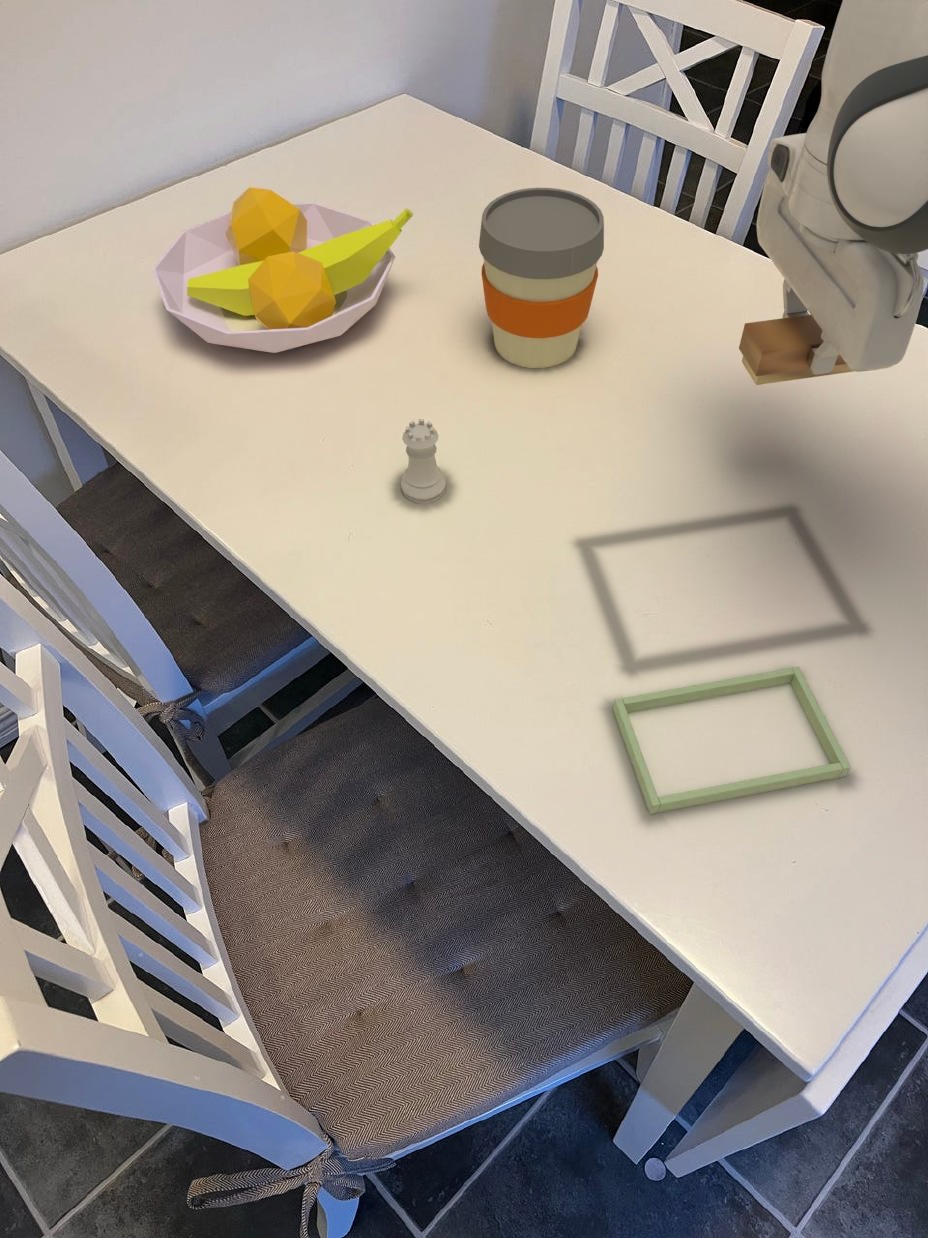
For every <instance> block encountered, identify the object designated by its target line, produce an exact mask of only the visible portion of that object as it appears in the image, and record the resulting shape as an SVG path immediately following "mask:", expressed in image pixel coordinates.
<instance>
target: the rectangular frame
mask: <svg viewBox="0 0 928 1238" xmlns="http://www.w3.org/2000/svg"><path fill="white" fill-rule="evenodd" d="M788 684H790V686H791V688H792V690H793V692H794V694H795V696H796V698H797V700H798V701H799V703H800V705H801V708H802V709H803V712H804V714H805V715H806V717H807V720H808V721H809V723H810V726H811V727H812V729H813V731H814V734H815V736H816V737H817V740H818V741H819V743H820V745H821V748H822V749H823V752H824V753H825V755H826V757H827V760H828V761H829V764H823V765H818V766H814V767H809V768H808V767H807V768H803V769H799V770H793V771H792V770H791V771H788V772H781V773H777V774H772V775H766V776H762V777H757V778H751V779H746V780H741V781H735V782H731V783H726V784H721V785H715V786H710V787H705V788H699V789H694V790H690V791H684V792H678V793H672V794H668V795H663V796H659V795H658V794H657V791H656V788H655V785H654V783H653V780H652V777H651V775H650V772H649V769H648V766H647V763H646V760H645V757H644V755H643V753H642V749H641V747H640V745H639V744H640V743H639V741H638V738H637V736H636V733H635V730H634V727H633V725H632V721H631V719H630V716H629V715H628V713H633V712H639V711H644V710H649V709H656V708H662V707H667V706H671V705H677V704H683V703H689V702H694V701H700V700H705V699H706V700H707V699H711V698H716V697H721V696H722V697H723V696H728V695H733V694H739V693H743V692H745V693H746V692H750V691H755V690H761V689H766V688H772V687H778V686H782V685H788ZM613 702H614V703H613V707H612V711H613V713H614V717H615V719H616V722H617V725H618V728H619V730H620V734H621V736H622V739H623V742H624V745H625V748H626V750H627V754H628V756H629V759H630V761H631V764H632V767H633V770H634V774H635V777H636V779H637V782H638V785H639V788H640V790H641V794H642V796H643V799H644V802H645V805H646V807H647V810H648V813H649V815H653V814H657V813H663V812H669V811H674V810H679V809H685V808H688V807H695V806H699V805H700V806H701V805H705V804H710V803H715V802H720V801H725V800H731V799H735V798H736V799H737V798H740V797H745V796H746V797H747V796H751V795H757V794H761V793H766V792H771V791H776V790H781V789H788V788H793V787H798V786H803V785H807V784H808V785H809V784H812V783H817V782H824V781H828V780H833V779H837V778H838V779H839V778H844V777H846V775H847V774H848V773H849V771H850V770H851V769H852V767H851V765H850V762H849V761H848V759H847V757H846V755H845V753H844V751H843V749H842V747H841V745H840V743H839V741H838V740H837V738H836V735H835V734H834V732H833V730H832V728H831V726H830V724H829V722H828V720H827V718H826V716H825V715H824V713H823V710H822V709H821V707H820V704H819V703H818V701H817V699H816V697H815V695H814V693H813V692H812V689H811V687H810V685H809V683H808V682H807V680H806V678H805V676H804V674H803V672H802V670H801V668H800V667H799V666H795V667H789V668H783V669H778V670H773V671H768V672H761V673H756V674H749V675H744V676H740V677H734V678H728V679H723V680H717V681H711V682H706V683H705V682H704V683H700V684H694V685H688V686H684V687H678V688H677V687H676V688H673V689H667V690H661V691H655V692H650V693H645V694H639V695H633V696H632V695H631V696H627V697H622V698H616V699H615V700H614V701H613Z"/></svg>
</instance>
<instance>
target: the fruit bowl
mask: <svg viewBox="0 0 928 1238" xmlns="http://www.w3.org/2000/svg"><path fill="white" fill-rule="evenodd" d="M413 216H414V213H413V212H412V211H411V210H410V209H409V208H406V207H405V208H404V209H403V211H402V212H400V214H399V215H398V216H396V218H395V219H394V220H392V219H389V220H385V221H382V222H379V223H376V224H374V223H373V221H372V220H369V219H367V218H363V217H360V216H357V215H354V214H351V213H347V212H345V211H342V210H338V209H335V208H334V207H333V208H332V207H330V206H326V205H323V204H321V203H317V202H302V203H301V202H300V203H291V202H290V201H288V200H286V199H285V198H284V197H283V196H281V195H279V194H278V193H277V192H275V191H273V190H272V189H268V188H258V187H250V186H249V187H248V188H247V189H246V190H245V191H243V193H242V194H240V195H239V196H238V198H236V199H235V200H234V201H233V203H232V207H231V210H230V212H226V213H224V214H222V215H220V216H217V217H215V218H212V219H209V220H207V221H204V222H202V223H198V224H196V225H194V226H191V227H189V228H187V229H184V230H182V232H181V233H180V234H179V236H178V237H177V238H176V239H175V241H174V242H173V243H172V244H171V246H170V247H169V248H168V249H167V251H166V252H165V253H164V254H163V255H162V257H161V258H160V259H159V261H158V262H157V263H156V264H155V265H154V267H153V268H152V269H151V270H152V271H151V272H152V273H153V277H154V279H155V282H156V284H157V288H158V290H159V293H160V297H161V298H162V300H163V304H164V307H165V310H166V311H167V312H169V313H170V314H171V315H172V316H173V317H175V318H176V319H177V320H178V321H180V322H181V323H183V324H184V325H185V326H186V327H187V328H189V329H190V330H191V331H192V332H194V333H195V334H196V335H197V336H198V337H200V338H202V339H203V340H204V341H205V342H206V343H208V344H213V345H221V346H226V347H227V346H228V347H232V348H240V349H246V350H251V351H252V350H253V351H259V352H266V353H272V354H276V353H277V354H278V353H280V352H284V351H288V350H293V349H295V348H299V347H303V346H306V345H310V344H315V343H318V342H321V341H325V340H329V339H333V338H337V337H339V336H340V337H341V336H342V335H343V334H344V333H345V332H347V331H348V330H349V329H350V328H351V327H352V326H354V324H356V323H357V322H358V321H359V320H360V319H361V318H362V317H364V316H365V315H366V314H368V312H369V311H371V310H372V309H373V308H374V307H375V306H376V305H377V303H378V301H379V298H380V296H381V293H382V290H383V288H384V286H385V285H386V282H387V278H388V276H389V274H390V272H391V269H392V267H393V264H394V261H395V259H396V255H395V254H394V252H393V251H392V250H391V247H392V245H393V244H394V243H395V241H396V240H397V239H398V237H399V236H400V235H401V234H402V233H401V232H402V231H403V230H402V228H403V227H404V226H405V225H406V224H407V223H408V221H410V219H412V217H413ZM345 291H346V297H345V299H344V301H343V302H342V305H341V306H340V308H339V309H338V311H337V313H335V314H334V310H335V307H336V304H337V301H336V298H335V296H336V295H339V294H341V293H342V292H343V293H344V292H345ZM222 309H224V310H226V311H230V312H232V313H235V314H238V315H241V316H243V317H249V316H254V317H255V320H256V321H257V322H258V323H259V324H260V325H262V326H263V327H264V328H265V329H256V330H254V329H253V330H236V331H231V330H230V328H229V325H228V323H227V320H226V318H225V315H224V313H223V311H222Z"/></svg>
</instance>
